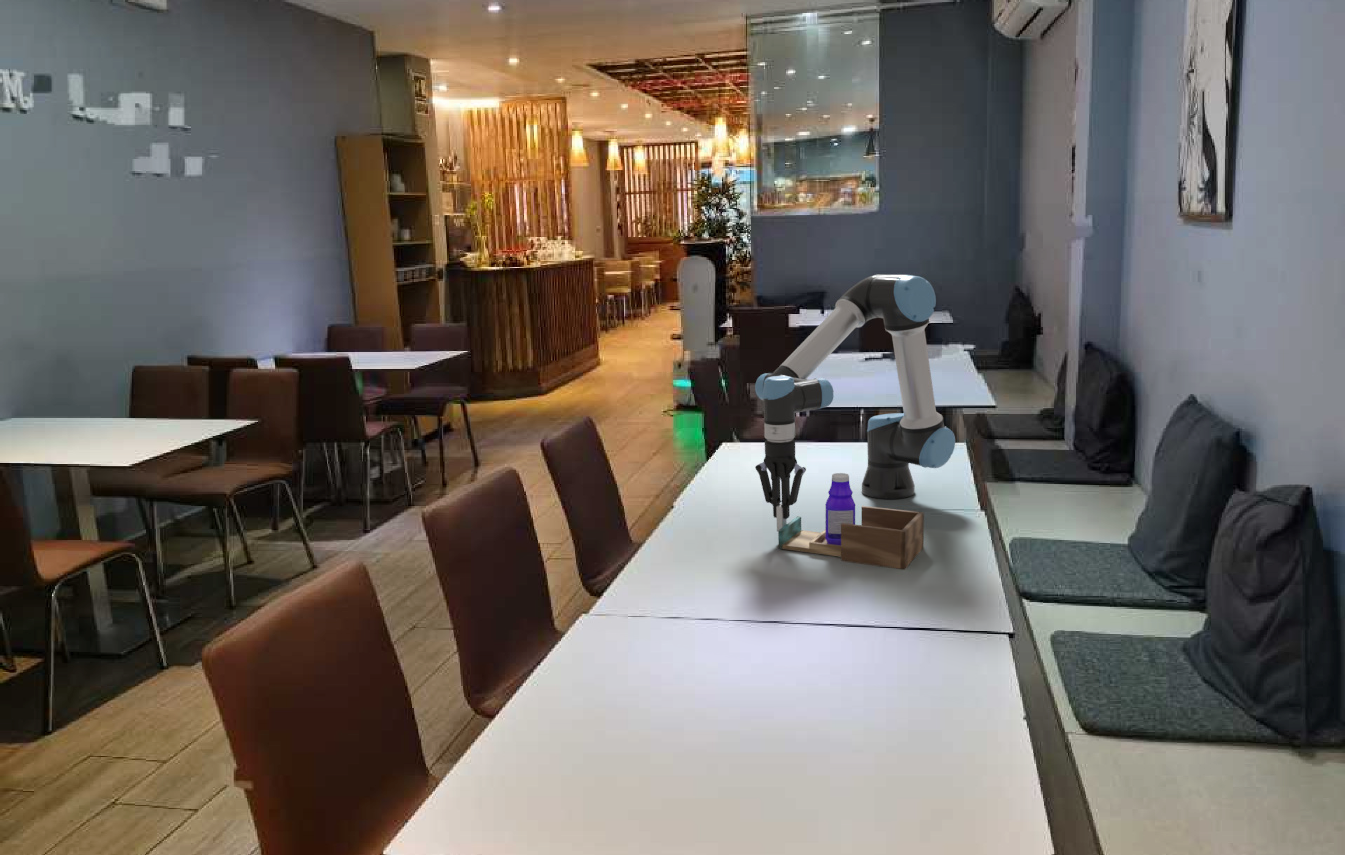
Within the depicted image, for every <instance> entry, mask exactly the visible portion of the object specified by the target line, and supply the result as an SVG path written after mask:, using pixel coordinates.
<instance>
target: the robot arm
mask: <svg viewBox="0 0 1345 855" xmlns="http://www.w3.org/2000/svg"><path fill="white" fill-rule="evenodd" d="M936 302H937V298H936V293H935V290H934V288H933V285H932V284H931V283H930V282H929V280H927V279H926V278H925V277H921V276H918V275H913V274H874V275H870V276H868V277H866V278H864V279H861V280H860V281H859V282H857V283H856V284H855V285H853V286H852V287H851V288H849V289H848V290H847V291H846V292H845V293H843V295H842V296H840V298H839V299H838V300H837V301H836V302H835V306H834V307H835V308H834V309H833V310H832V311H831V312H830V313H829V314H828V316H827V317H825V318H824V320H823V321H821V323H820V324H819V325H818V326H816V328H815V329H814V330H813V331H812V332H811V333H810V335H808V336H807V337H806V338H805V339H804V341H802V342H801V343H800V345H798V346H797V348H796V349H795V350H794V351H793V352H792V353H791V354H790V355H789V356H788V357H787V358H786V359H785V360H784V361H783V362H782V363H781V364H780V365H779V367H777V368H776V369H775V370H774V371H773V372H768V373H766V372H765V373H763V374H760V376H758V377H757V379H756V382H755V385H754V389H755V391H754V392H755V394H756V396H757V397H758V399H760V400H761V401H763V402H762V403H763V421H764V423H763V424H764V438H765V440H764V454H765V455H764V459H763V462H761V463H759V464H757V465H755V470H756V471H757V473H758V475H759V480H760V482H761V487H762V492H763V495H764V498H765V502H766V503H768V504H771V505H772V508H773V509H772V514H773V518H775V519H776V532H778V530H780V529H781V528H782V527H784V526H785V525H786V524H787V519H789V518H790V506H793V505H794V504H796V503H797V501H798V496H799V493H800V492H799V491H800V488H801V483H802V479H803V476H804V474H805V472H806V471H807V468H806V467H805V466H803V467H802V466H801V465H800V464H798V461H797V459H796V440H795V439H794V438H796V425H795V424H796V420H795V418H796V413H797V414H798V413H801V412H808V411H814V410H820V409H824V408H827V407H829V406H830V405H831V404H832V403H833V400H834V388H833V385H832V383H831V382H830V381H829V380H828V379H826V378H824V377H823V378H817V377H816V378H813V379H808V378H809V377H810V376H811V375H812V374H813V373H814V372H815V371H816V370H817V369H818V368H819V367H820V366H821V365H822V364H823V362H824V361H826V359H827V358H829V356H830V355H831V354H832V353H833V352H834V351H835V350H836V349H837V348H838V347H839V346H840V345H841V344H842V342H844V340H845V339H846V338H847V337H848V336H849V335H850V334H851V333H852V332H853V331H854V330H855V329H856V328H862V327H863V326H864V325H865V324H866V323H867V322H868V321H870V320H872V319H877V318H878V319H883V326H884V329H885V332H888V333H889V334H890V335H891V340H892V344H893V352H894V358H895V359H894V360H895V365H896V370H897V371H896V372H897V378H898V384H899V392H900V396H901V397H900V398H901V404H902V411H903V413H902V412H898V413H897V412H896V413H885V414H878V415H874V416H872V417H870V418H869V419H868V421H867V430H866V434H867V436H866V438H867V468H866V471H865V473H864V476H863V479H862V483H861V493H862V494H863V495H864V496H867V497H870V498H875V499H883V500H885V499H887V500H889V499H890V500H891V499H892V500H893V499H903V498H909V497H911V496H913V495H914V494H915V483H914V479H913V476H912V473H911V469H910V464H911V465H915V466H919V467H923V468H925V469H926V468H927V469H928V468H929V469H939V468H941V467H943V466H945V465H946V464H947V463H948V461H949V460H950V459H951V456H952V455H953V453H954V450H955V447H956V437H955V433H954V432H953V431H952V430H951V429H950V428H949V427H947V426H945V424H944V417H943V415H942V414H940V413H939V412H938V411H937V410H936V402H935V401H936V400H935V395H934V388H933V381H932V380H933V378H932V373H931V366H930V359H929V353H928V346H927V338H926V331H925V329H926V327H927V326H928V324H929V323H930V319H929V318H931V317H932V315H933V313H934V312H935V309H934V308H936V305H937V304H936ZM767 470H768V471H769V472H768V471H767ZM792 472H794V474H795V475H794V477H793V479H792V484H791V482H790V479H791V474H792ZM769 473H770V477H769ZM770 480H771V481H770ZM790 486H791V487H790ZM790 488H791V489H790Z"/></svg>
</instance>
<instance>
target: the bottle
mask: <svg viewBox="0 0 1345 855" xmlns="http://www.w3.org/2000/svg"><path fill="white" fill-rule="evenodd" d="M853 492H854V491H852V488H851V485H850V475H849V474H848V473H843V472H839V473H838V472H837V473H836V472H835V473H833V474H831V485H830V488H829V490H828V492H827V493H828V498H827V499H826V502H825V529H824V530H825V531H826V532H825V534H826V536H825V538H826V541H827V543H828V544H833V545H840V546H841V524H842V523H846V524H854V525H856V503H855V500H854V499H853Z"/></svg>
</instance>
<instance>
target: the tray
mask: <svg viewBox="0 0 1345 855" xmlns="http://www.w3.org/2000/svg"><path fill="white" fill-rule="evenodd" d="M825 532H826V531H825V529H823V531H821V532H819V531H810V530H804V529H803V530H802V516H796V517H795V518H793V519H792V520H790V521H789V522H787V523H786V525H785V526H784V527H782V528H781V529H780V530H778V549H781V550H787V551H796V552H803V553H809V554H810V553H811V554H817V555H826V556H834V557H839V558H840V557H841V546H840V545H833V544H828V543H827V541H826V538H825V536H826V534H825Z"/></svg>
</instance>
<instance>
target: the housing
mask: <svg viewBox="0 0 1345 855" xmlns="http://www.w3.org/2000/svg"><path fill="white" fill-rule="evenodd" d="M924 515H925V514H924V512H922V511H913V510H905V509H904V510H903V509H896V508H887V507H886V508H885V507H877V506H868V505H867V506H866V505H862V506H861V524H855V525H854V524H846V523H842V524H841V558H840V561H841V562H848V563H853V564H854V563H855V564H861V565H863V564H864V565H869V566H877V567H885V568H892V569H897V570H899V569H900V570H906V569H907V568H908V566H909V565H910V564H911V563H912V561H914V559H915V558H916V557H918V555H919V554H920V553H921V551H922V550H923V549H924V541H925V540H924V538H925V537H924V536H925V535H924V533H925V532H924V531H925V530H924V529H925V528H924V527H925V526H924V522H925V519H924V518H925V516H924Z"/></svg>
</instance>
